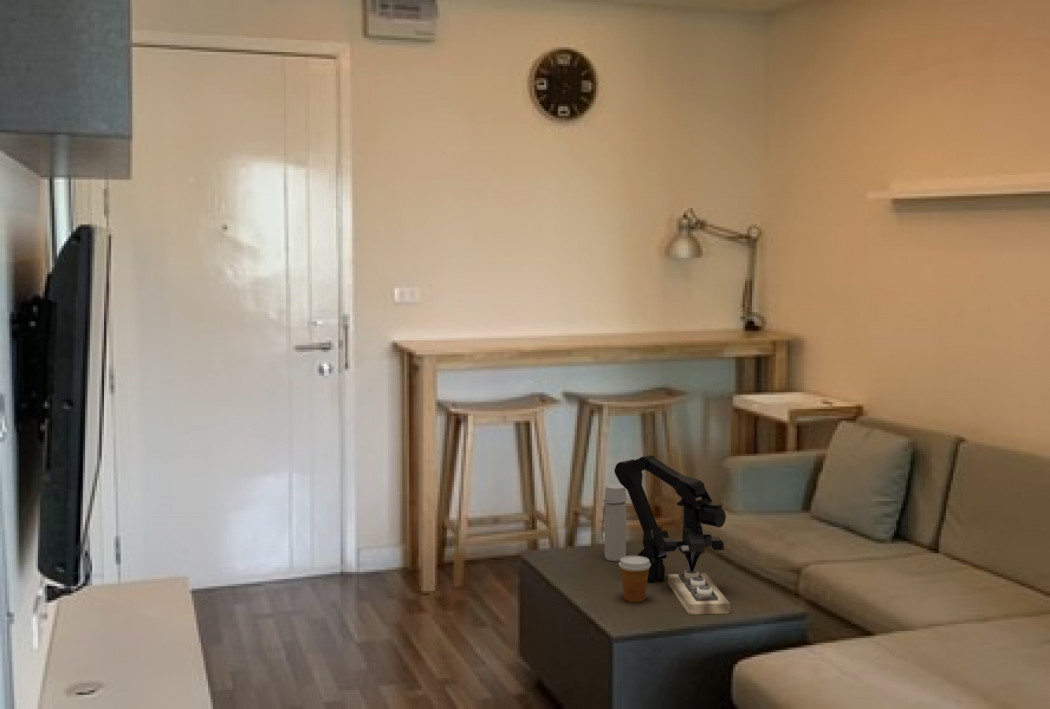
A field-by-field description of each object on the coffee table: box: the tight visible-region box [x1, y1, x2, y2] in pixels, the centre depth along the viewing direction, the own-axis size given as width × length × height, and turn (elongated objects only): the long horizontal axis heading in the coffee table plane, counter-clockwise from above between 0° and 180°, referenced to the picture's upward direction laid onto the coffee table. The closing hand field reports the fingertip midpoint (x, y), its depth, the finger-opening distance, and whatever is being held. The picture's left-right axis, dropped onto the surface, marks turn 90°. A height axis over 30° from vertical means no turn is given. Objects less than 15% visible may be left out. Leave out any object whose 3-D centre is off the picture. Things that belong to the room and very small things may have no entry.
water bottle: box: [600, 483, 627, 562], centre depth 361 cm, size 9×8×25 cm
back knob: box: [683, 568, 700, 580], centre depth 329 cm, size 4×4×3 cm
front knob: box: [697, 585, 712, 597], centre depth 313 cm, size 4×4×3 cm
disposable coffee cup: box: [618, 555, 651, 603], centre depth 321 cm, size 10×10×12 cm
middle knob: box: [690, 577, 705, 588], centre depth 321 cm, size 4×4×3 cm
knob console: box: [667, 572, 731, 616], centre depth 321 cm, size 12×28×4 cm, turn 4°
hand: (691, 571), depth 329 cm, fingers closed, pressing on back knob
